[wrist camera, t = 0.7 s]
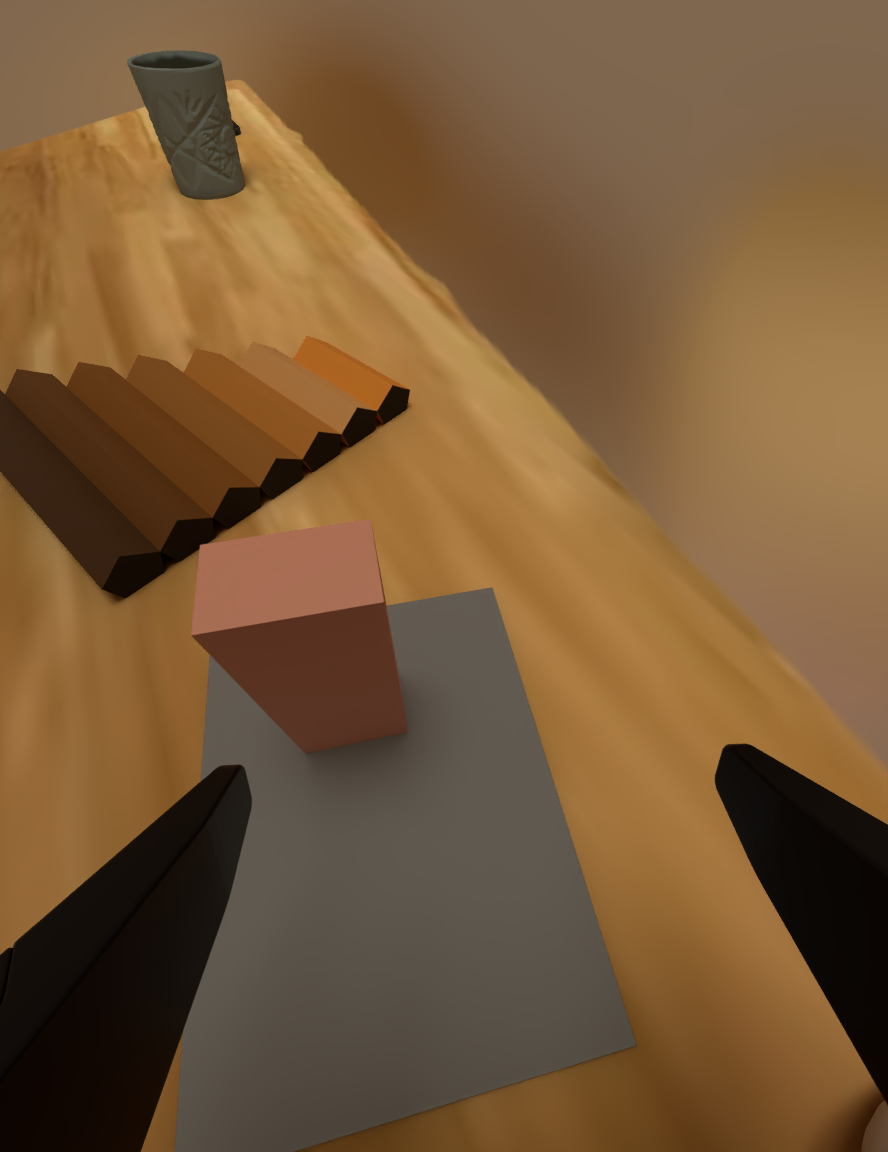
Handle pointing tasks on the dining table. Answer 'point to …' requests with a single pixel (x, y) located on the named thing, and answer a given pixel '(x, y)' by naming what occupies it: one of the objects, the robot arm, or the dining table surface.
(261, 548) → the tall box
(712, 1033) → the dining table surface
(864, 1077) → the dining table surface
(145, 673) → the dining table surface
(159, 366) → the pan flute
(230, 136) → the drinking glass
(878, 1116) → the donut
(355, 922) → the mat
